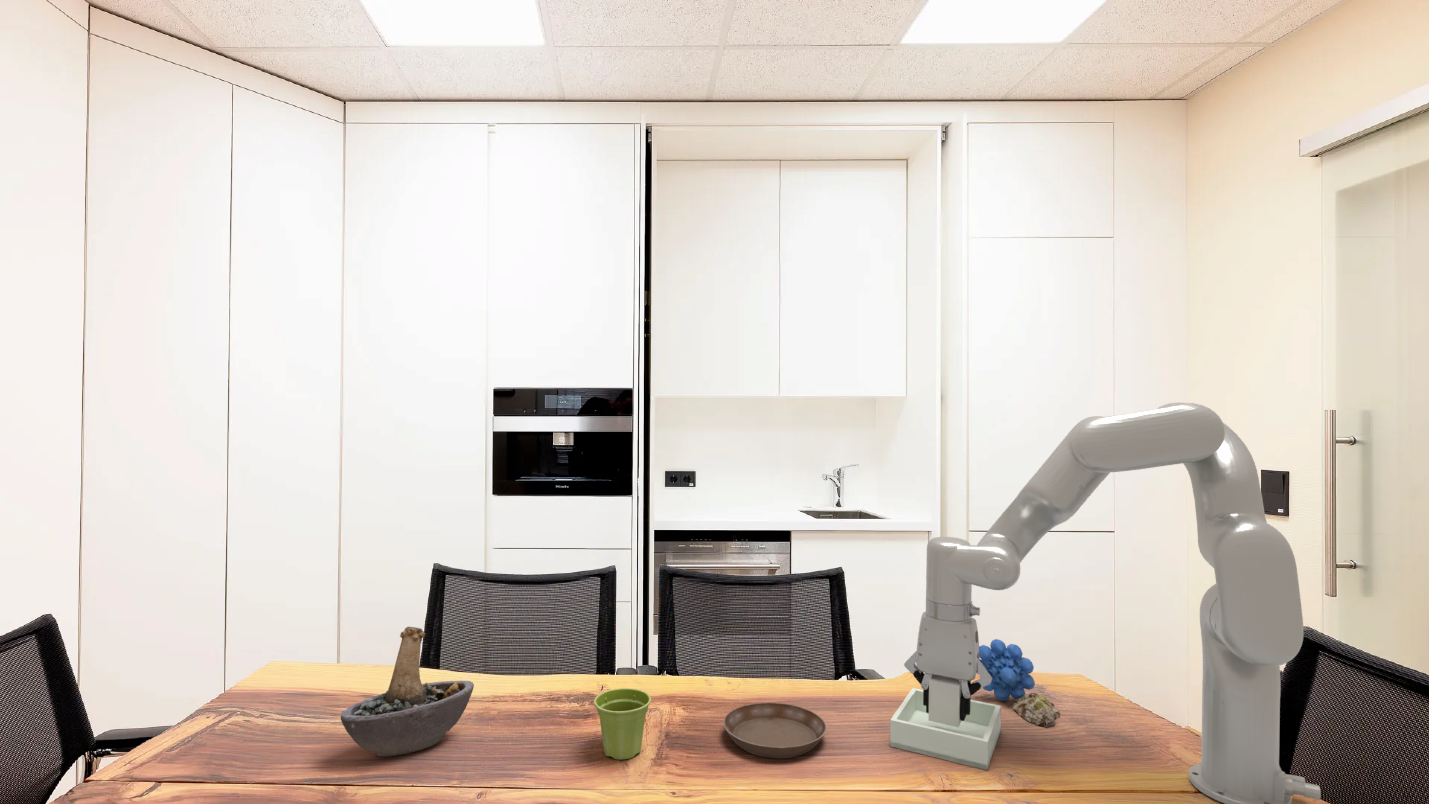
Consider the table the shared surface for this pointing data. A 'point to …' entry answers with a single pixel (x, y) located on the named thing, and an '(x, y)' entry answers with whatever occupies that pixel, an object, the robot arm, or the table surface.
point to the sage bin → (947, 732)
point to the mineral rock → (1036, 709)
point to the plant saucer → (774, 729)
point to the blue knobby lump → (1006, 670)
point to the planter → (407, 707)
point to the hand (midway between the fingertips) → (946, 713)
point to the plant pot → (622, 721)
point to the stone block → (944, 700)
